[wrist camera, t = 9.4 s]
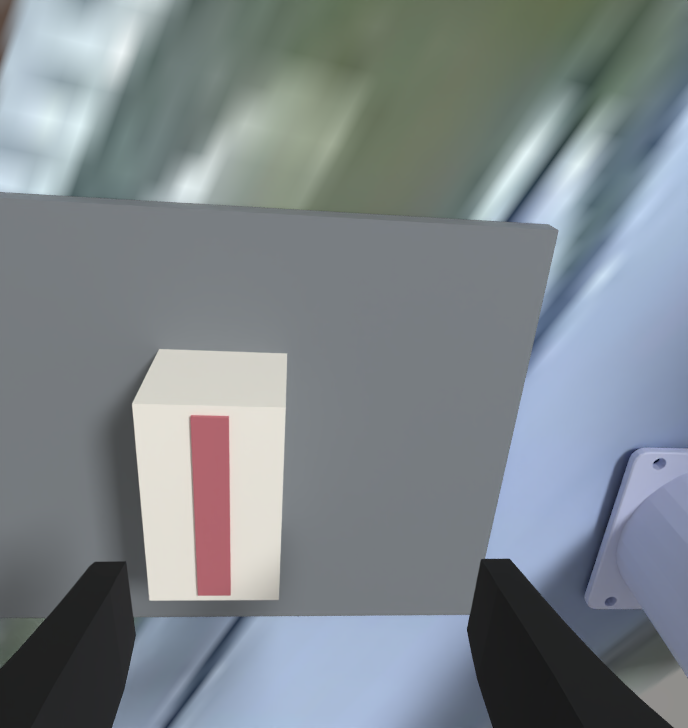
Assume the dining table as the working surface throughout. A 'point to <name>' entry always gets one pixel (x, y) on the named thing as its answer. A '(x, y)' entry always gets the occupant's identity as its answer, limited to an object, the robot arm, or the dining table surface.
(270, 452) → the white rectangular block
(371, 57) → the dining table surface
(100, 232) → the slate mat
